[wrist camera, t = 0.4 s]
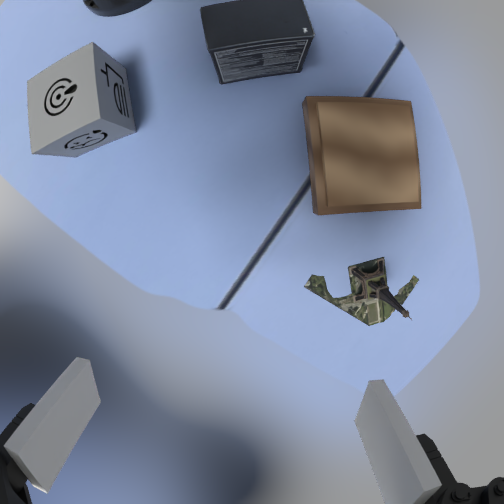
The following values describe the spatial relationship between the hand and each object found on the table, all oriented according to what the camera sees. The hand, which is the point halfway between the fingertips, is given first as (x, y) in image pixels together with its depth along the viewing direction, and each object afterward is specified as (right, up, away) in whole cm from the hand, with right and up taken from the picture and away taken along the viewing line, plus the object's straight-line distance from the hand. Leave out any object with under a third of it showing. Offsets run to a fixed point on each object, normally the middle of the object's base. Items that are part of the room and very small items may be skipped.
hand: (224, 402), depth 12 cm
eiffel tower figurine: (+17, +3, +27) cm, 32 cm away
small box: (+2, +32, +20) cm, 37 cm away
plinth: (+15, +19, +22) cm, 33 cm away
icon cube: (-20, +26, +21) cm, 39 cm away
